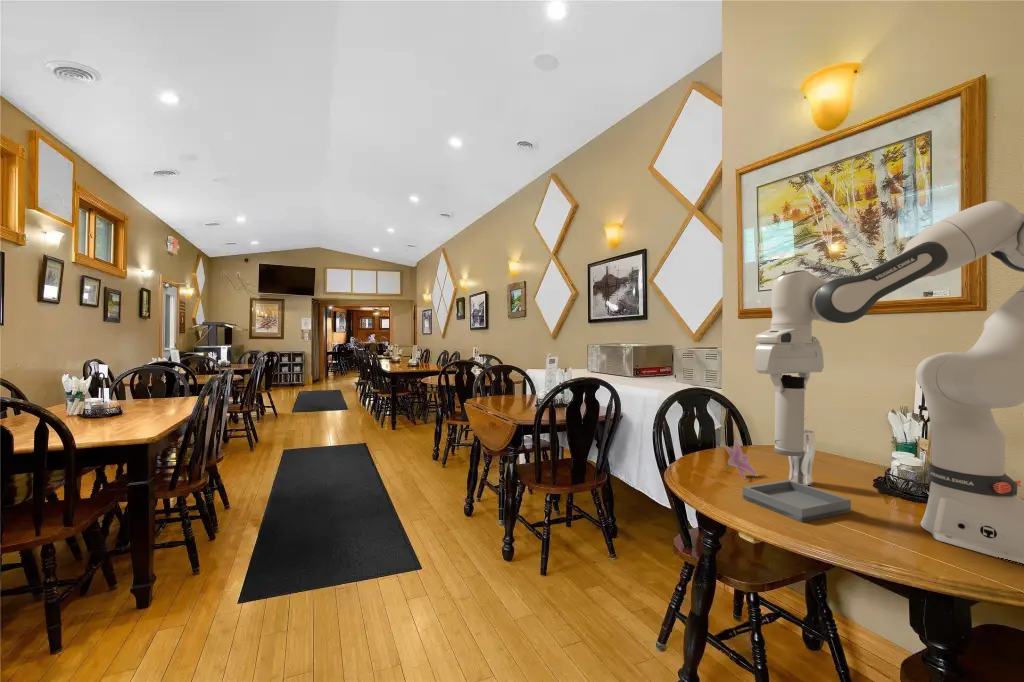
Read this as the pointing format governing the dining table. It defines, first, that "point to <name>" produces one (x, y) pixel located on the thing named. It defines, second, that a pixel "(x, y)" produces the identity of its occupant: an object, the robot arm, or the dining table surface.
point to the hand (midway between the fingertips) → (790, 391)
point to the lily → (739, 460)
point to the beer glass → (803, 461)
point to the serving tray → (797, 500)
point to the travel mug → (790, 417)
